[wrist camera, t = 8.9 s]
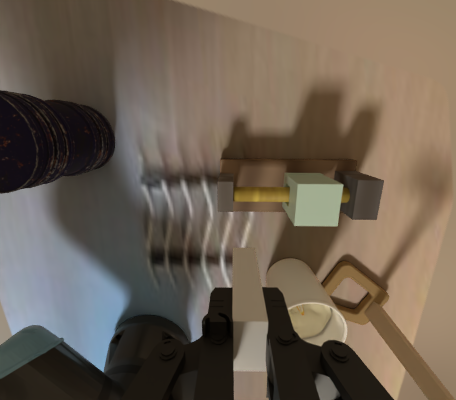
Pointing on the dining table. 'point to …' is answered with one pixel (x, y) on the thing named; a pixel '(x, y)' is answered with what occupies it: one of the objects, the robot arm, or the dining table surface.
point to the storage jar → (49, 140)
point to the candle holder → (307, 302)
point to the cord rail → (276, 175)
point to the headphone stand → (386, 328)
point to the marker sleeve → (312, 199)
